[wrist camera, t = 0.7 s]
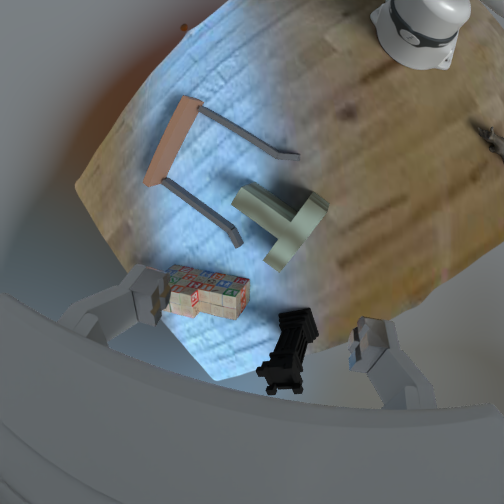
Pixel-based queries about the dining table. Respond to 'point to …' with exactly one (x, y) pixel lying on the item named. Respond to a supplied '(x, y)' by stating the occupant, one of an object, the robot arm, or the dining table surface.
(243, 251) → the dining table surface
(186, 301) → the stack of blocks
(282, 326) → the chess piece
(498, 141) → the rhino figurine
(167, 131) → the bay
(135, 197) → the dining table surface
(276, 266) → the T block
